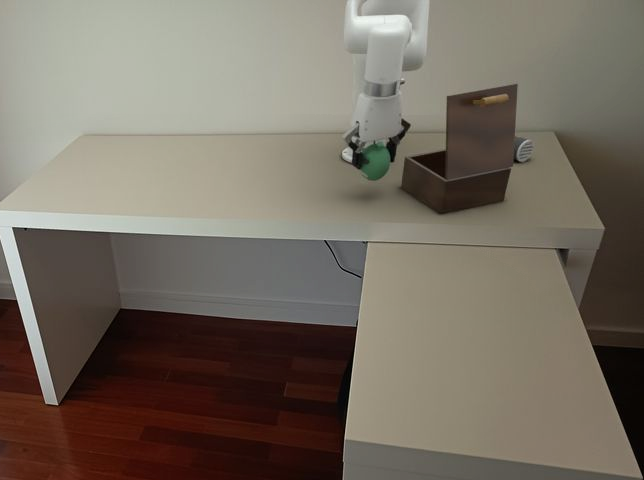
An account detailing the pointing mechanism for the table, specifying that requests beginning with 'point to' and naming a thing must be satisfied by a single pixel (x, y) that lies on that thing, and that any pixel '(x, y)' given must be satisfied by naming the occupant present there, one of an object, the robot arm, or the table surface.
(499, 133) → the lid
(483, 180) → the chest
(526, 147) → the flashlight
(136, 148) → the table surface
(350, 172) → the table surface
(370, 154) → the alien toy
